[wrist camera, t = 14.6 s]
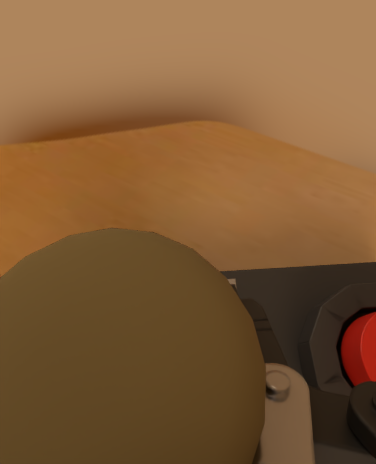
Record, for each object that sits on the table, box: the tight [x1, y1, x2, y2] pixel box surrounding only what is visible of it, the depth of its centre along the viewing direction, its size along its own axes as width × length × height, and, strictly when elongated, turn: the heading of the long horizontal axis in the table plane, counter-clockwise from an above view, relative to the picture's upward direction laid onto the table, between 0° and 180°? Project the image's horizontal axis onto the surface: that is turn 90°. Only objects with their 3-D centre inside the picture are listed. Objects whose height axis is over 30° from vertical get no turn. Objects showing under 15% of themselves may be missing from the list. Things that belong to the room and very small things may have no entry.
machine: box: [220, 262, 376, 396], centre depth 17 cm, size 18×10×4 cm, turn 94°
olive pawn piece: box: [0, 228, 266, 464], centre depth 9 cm, size 6×6×11 cm
